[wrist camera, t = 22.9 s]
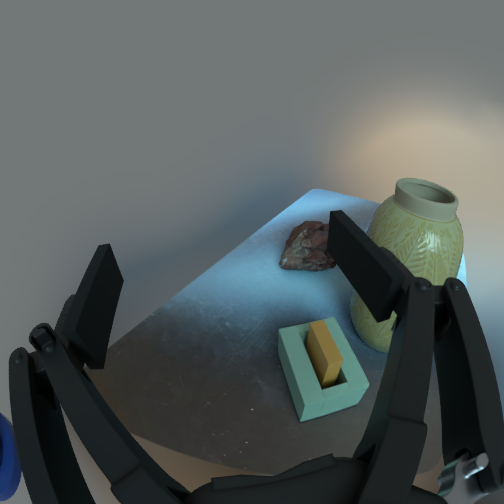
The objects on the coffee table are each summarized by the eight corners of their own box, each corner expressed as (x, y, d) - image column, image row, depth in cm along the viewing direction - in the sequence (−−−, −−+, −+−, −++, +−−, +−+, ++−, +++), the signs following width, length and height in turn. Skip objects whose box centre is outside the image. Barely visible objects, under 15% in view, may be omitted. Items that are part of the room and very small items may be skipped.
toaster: (356, 405, 33) (369, 384, 29) (299, 423, 32) (304, 405, 28) (325, 338, 45) (331, 311, 41) (276, 350, 43) (276, 323, 40)
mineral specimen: (292, 268, 70) (349, 261, 63) (273, 283, 59) (341, 276, 52) (283, 223, 68) (341, 213, 61) (262, 230, 57) (332, 218, 50)
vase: (426, 305, 48) (467, 186, 33) (422, 371, 35) (496, 233, 20) (354, 287, 55) (374, 163, 40) (333, 348, 43) (363, 198, 28)
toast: (329, 395, 35) (343, 359, 29) (317, 398, 34) (328, 364, 29) (315, 359, 40) (323, 319, 35) (303, 362, 40) (309, 322, 35)
